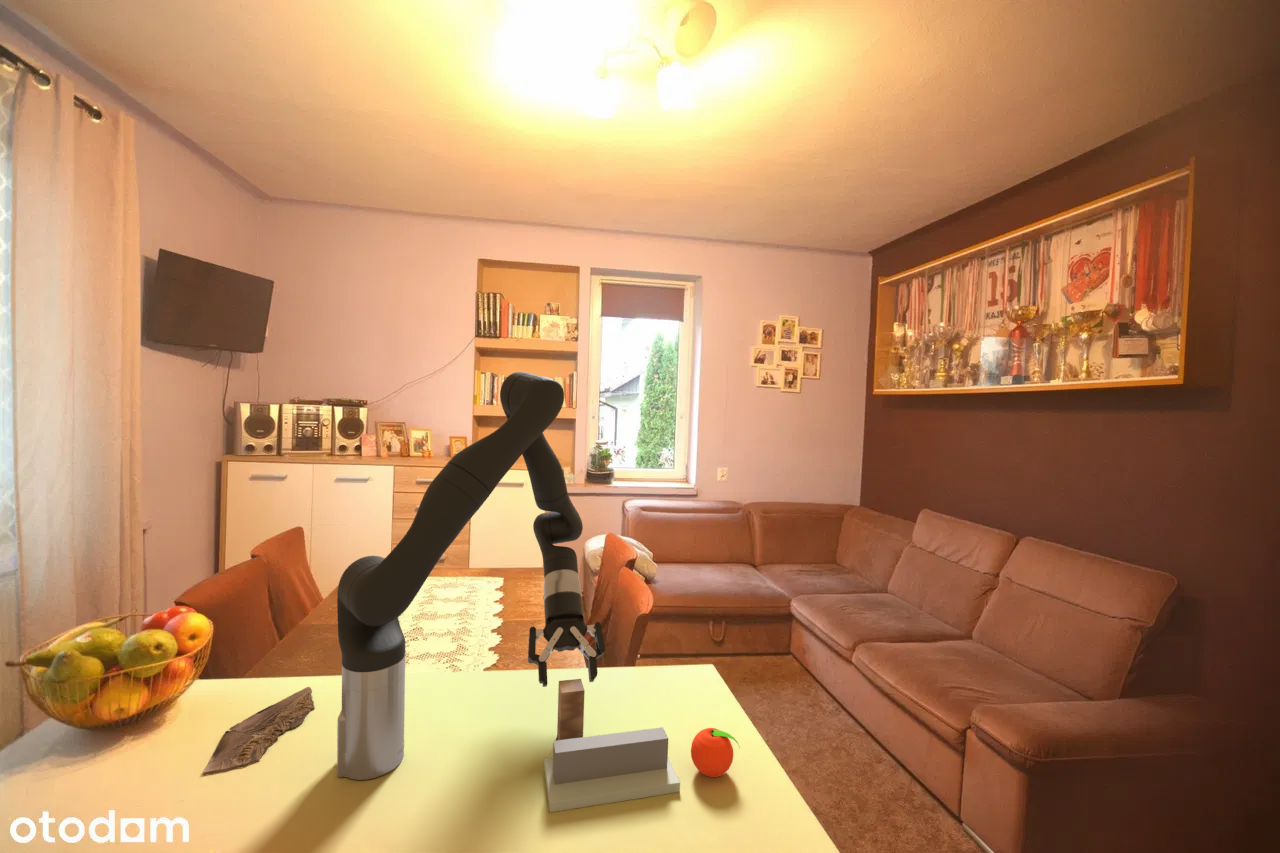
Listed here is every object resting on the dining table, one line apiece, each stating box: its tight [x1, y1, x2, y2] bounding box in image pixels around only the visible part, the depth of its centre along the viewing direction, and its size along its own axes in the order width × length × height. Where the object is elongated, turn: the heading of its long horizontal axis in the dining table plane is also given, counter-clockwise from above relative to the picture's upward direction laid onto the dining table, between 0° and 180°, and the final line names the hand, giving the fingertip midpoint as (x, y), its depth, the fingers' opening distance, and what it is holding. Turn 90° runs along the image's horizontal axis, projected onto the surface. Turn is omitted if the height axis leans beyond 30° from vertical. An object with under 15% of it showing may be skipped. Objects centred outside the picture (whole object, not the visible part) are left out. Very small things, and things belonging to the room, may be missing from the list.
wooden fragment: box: [202, 686, 316, 776], centre depth 97 cm, size 26×11×1 cm, turn 176°
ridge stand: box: [543, 727, 681, 813], centre depth 87 cm, size 20×10×6 cm, turn 105°
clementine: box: [690, 727, 741, 778], centre depth 89 cm, size 8×7×7 cm
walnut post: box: [556, 678, 585, 740], centre depth 96 cm, size 4×4×10 cm
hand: (568, 683), depth 99 cm, fingers open, 8 cm apart
